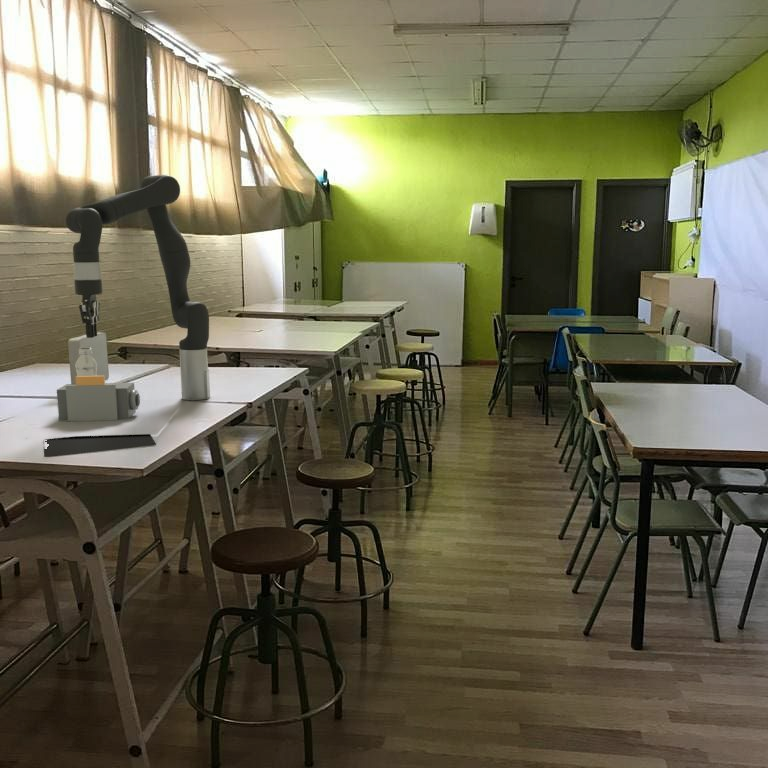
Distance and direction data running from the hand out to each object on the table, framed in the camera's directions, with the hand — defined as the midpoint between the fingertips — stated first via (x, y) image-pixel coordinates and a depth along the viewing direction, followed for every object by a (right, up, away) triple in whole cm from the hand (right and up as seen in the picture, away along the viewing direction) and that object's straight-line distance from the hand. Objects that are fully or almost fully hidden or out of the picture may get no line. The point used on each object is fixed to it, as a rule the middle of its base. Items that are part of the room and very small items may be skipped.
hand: (91, 336), depth 224 cm
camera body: (+1, -25, +5) cm, 25 cm away
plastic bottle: (-7, -23, +17) cm, 30 cm away
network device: (-22, -16, +55) cm, 62 cm away
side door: (+1, -25, -1) cm, 25 cm away
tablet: (+11, -30, -24) cm, 40 cm away
